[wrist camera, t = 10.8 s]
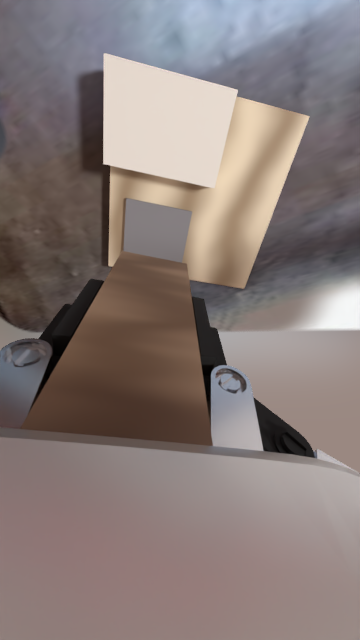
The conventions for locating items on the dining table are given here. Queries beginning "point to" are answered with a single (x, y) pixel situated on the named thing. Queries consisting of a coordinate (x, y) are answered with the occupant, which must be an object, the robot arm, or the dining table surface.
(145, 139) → the tile
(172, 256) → the mat
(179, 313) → the brown wooden block
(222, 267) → the board
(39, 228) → the dining table surface
